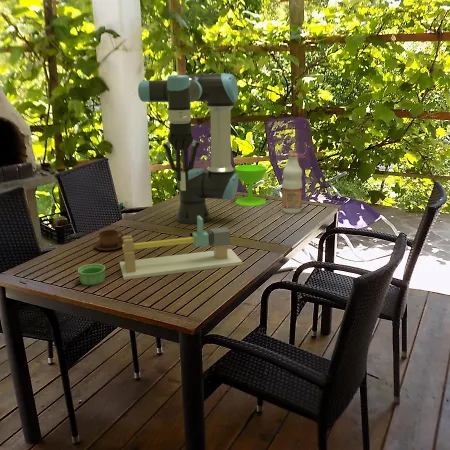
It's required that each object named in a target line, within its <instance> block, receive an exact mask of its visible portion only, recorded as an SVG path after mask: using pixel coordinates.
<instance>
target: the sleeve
mask: <svg viewBox="0 0 450 450" xmlns="http://www.w3.org/2000/svg"><path fill="white" fill-rule="evenodd" d="M196 227H197V228H196V229H197V231H196V232H192V237H195V242H194V243H192V244H193V246H194V247H195V248H199V247H207V246H210V245H209V234H208V233H207V230H206V231H205V230H204V222H203V219H202V218H201V216H197V226H196Z"/></svg>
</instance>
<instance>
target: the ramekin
mask: <svg viewBox="0 0 450 450" xmlns="http://www.w3.org/2000/svg"><path fill="white" fill-rule="evenodd" d="M77 273H78V276H79V281H80V283H81V284H82V285H85V286H95V285H99V284H101V283H103V282H104V281H105V280H106V266H105V264H102V263H101V264H100V263H90V264H84V265H81V266H80V267H78V269H77Z"/></svg>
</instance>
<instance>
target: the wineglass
mask: <svg viewBox="0 0 450 450" xmlns="http://www.w3.org/2000/svg"><path fill="white" fill-rule="evenodd" d="M266 172H267V167H266V165H260V164H243V165H236V166H235V167H234V173H236V174H238V180H240V181H241V182H243V183H245V184H248V194H247V195H248V196H241V197H239V198H237V199H236V200H235V201H234V202H235V204H236V205H239V206H242V207H258V206H263V205H265V204H266V203H267V201H266V199H265V198H264V197H263V198H262V197H261V196H260V197H259V196H254V195H253V184H257V183H258V182H260V181H261V180H262V179H263V178H264V177H265V175H266Z"/></svg>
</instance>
